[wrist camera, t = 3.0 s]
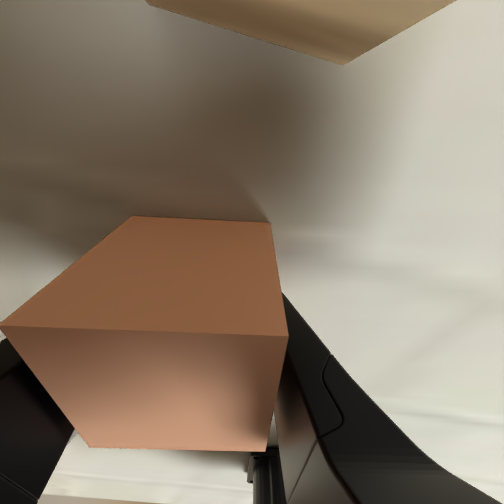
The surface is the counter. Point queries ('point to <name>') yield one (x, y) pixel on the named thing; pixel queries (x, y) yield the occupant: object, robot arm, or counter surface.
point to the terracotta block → (163, 336)
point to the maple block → (311, 21)
